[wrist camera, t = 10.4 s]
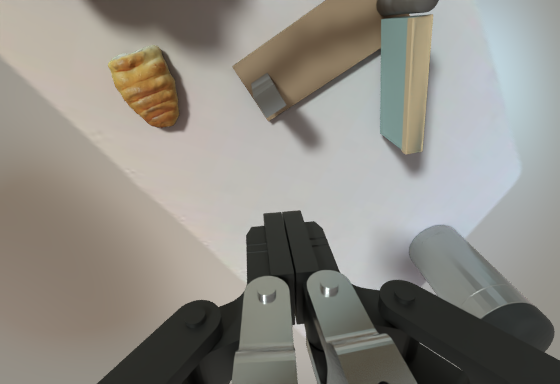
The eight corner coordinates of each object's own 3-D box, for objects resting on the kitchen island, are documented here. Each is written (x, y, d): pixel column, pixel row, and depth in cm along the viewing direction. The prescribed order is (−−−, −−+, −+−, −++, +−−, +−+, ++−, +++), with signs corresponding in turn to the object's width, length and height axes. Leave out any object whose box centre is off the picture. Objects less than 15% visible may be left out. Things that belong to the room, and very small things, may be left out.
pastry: (193, 115, 41) (189, 123, 37) (147, 132, 41) (138, 141, 38) (158, 40, 36) (149, 41, 33) (106, 59, 37) (92, 63, 33)
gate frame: (409, 26, 38) (459, 26, 29) (267, 119, 42) (274, 144, 33) (385, -43, 35) (434, -66, 26) (232, 66, 38) (229, 77, 29)
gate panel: (396, 16, 36) (433, 14, 29) (392, 131, 43) (422, 151, 36) (379, 19, 36) (412, 17, 29) (378, 133, 43) (405, 154, 36)
